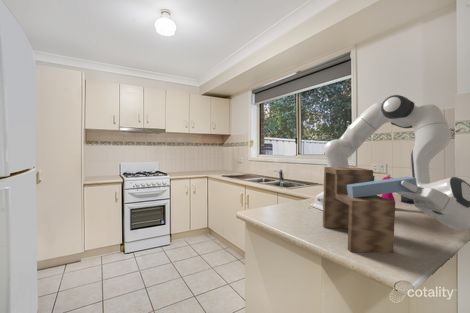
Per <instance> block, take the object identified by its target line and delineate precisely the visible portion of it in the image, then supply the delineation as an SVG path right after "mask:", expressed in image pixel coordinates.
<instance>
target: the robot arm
mask: <svg viewBox="0 0 470 313" xmlns="http://www.w3.org/2000/svg"><path fill="white" fill-rule="evenodd" d="M387 123H390V124H391V125H392V126H396V127H398V128H400V129H401V128H402V129H412V130H413V133H414V139H415V140H414V145H413V148H412V150H411V154H410V161H411V162H410V164H411V175H412V177H413V178H416V183H417V185H413V184H411V183H408V182H407V181H404V180H401V181H400V183H399V184H400V185H401V186H403V187H406V188H407V189H409V190H410V191H402V192H395V193H396V194H398V195H400V197H401V196H404V197H406V198H409V199H413V201H414V204H413V205H414V207H415V208H416V209H417V210H419V211H421V212H422V213H423V214H426V215H427V216H429V217H432V218H435V220H436V221H437V222H439V223H440V224H442V225H445V227H448V228H449V229H452V230H455V231H461V232H462V231H463V232H464V231H469V230H470V183H469V182H467V181H465V180H463V179H462V178H459V177H456V176H452V177H448V178H443V179H440V180H435V181H433V182H431V178H430V169H429V168H430V163H431V161H432V160H433V159H434V157H436V156H437V155H438V154H439V153H440V152H442V151H443V150H444V149H445V148H446V147H448V145H449V144H450V142H451V140H452V132H451V128H450V125H449V124H448V121H447V118H446V117H445V115H444V113H443V112H442V110H441V108H440V107H439V106H437V105H435V104H423V105H420V106H417V105H416V104H415V102H414V101H412V100H410V99H409V98H408V97H406V96H403V95H399V94H394V95H390V96H388V97H386V98H385V99H384V100H383V101H382V102H375V103H373V104H372V105H371V106H369V107H368V108H366V109H365V110H364V111H363V112H361V114H360V115H358V117H356V119H354V120H353V122H351V124H349V125H348V127H347V128H346V130H345V131H344V133H343V134H342V135H341V136H340V137H339V138H337V139H331V140H330V141H328V142H327V143H326V144H325V145H324V148H323V152H324V155H325V157H326V158H325V159H326V167H349V158H351V156H353V155H354V153H356V151H357V150H358V149H359V148H360V147H361V146H362V145H363V144H364V143H365V142H366V141H367V139H369V138H370V137H371V136H372V135H373V134H374V133H376V132H377V131H378V130H379V129H380V128H381V127H382V126H383V125H385V124H387ZM390 179H393V177H392V178H390ZM323 188H324V185H323ZM323 198H324V190H323V191H321V192H320V193H318V194H316V196H315V197H314V202H311V203H310V207H313V208H316V209H317V210H321V211H323Z"/></svg>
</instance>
